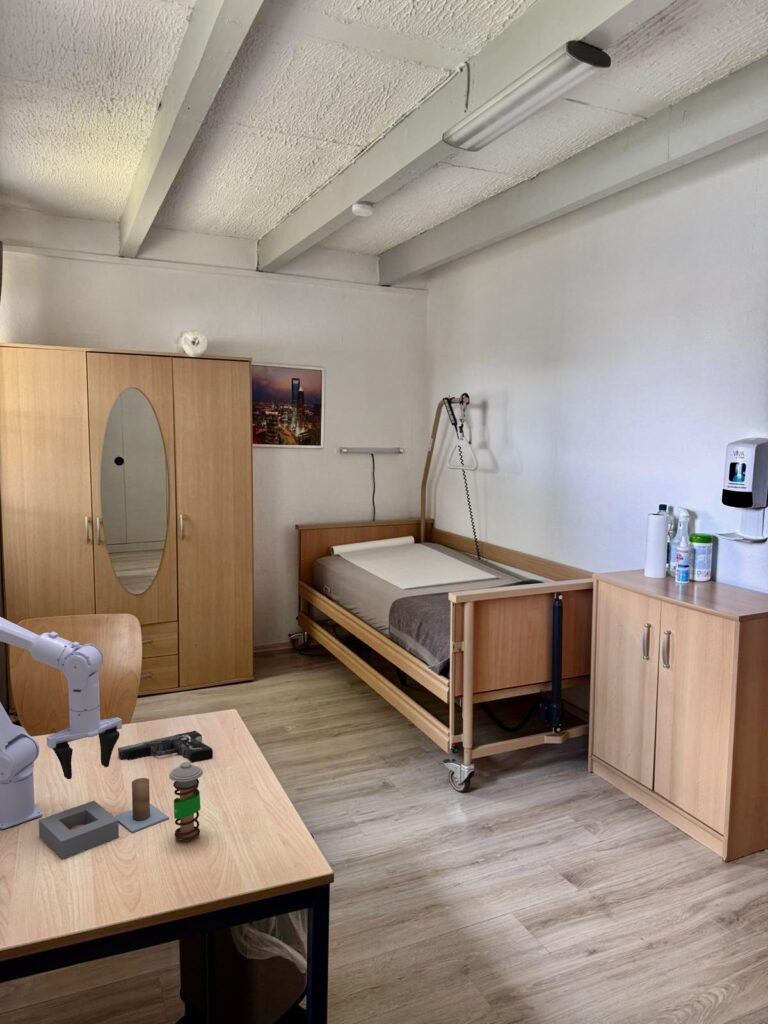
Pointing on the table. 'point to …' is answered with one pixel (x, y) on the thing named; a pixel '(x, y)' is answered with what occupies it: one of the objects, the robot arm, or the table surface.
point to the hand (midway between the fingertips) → (86, 771)
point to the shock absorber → (186, 800)
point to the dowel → (140, 799)
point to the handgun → (170, 747)
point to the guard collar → (78, 829)
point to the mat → (135, 826)
